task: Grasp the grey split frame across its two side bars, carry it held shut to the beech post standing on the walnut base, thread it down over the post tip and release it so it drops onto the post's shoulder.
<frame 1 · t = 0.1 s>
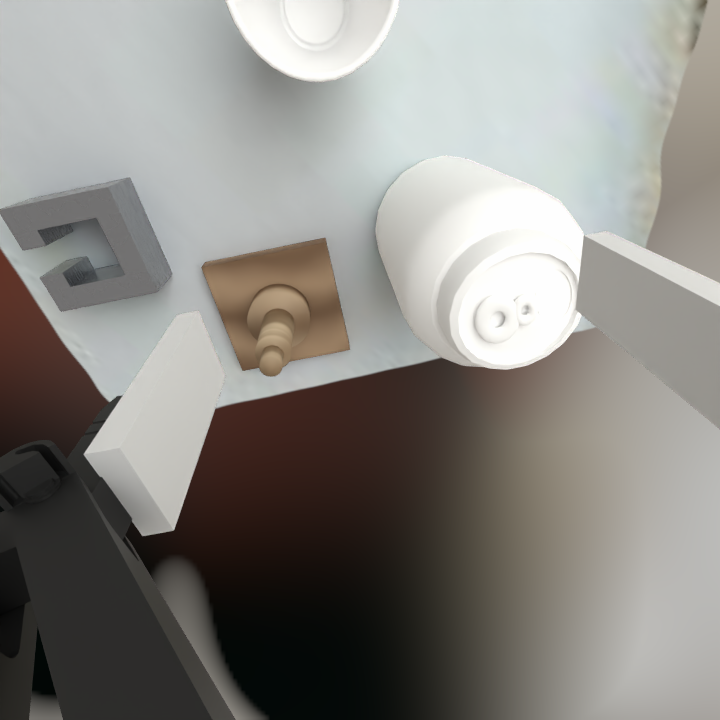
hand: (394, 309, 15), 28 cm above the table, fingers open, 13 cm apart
cup: (314, 8, 32), on the table
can: (437, 224, 41), on the table
grey split frame: (105, 238, 39), on the table
post fixture: (282, 305, 44), on the table
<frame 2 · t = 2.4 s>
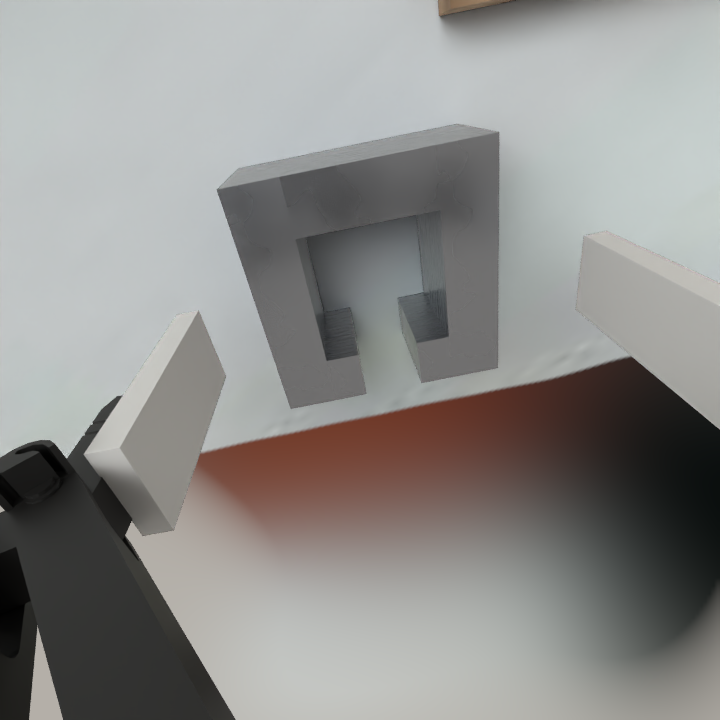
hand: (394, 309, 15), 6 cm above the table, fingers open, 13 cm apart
grey split frame: (365, 253, 19), on the table
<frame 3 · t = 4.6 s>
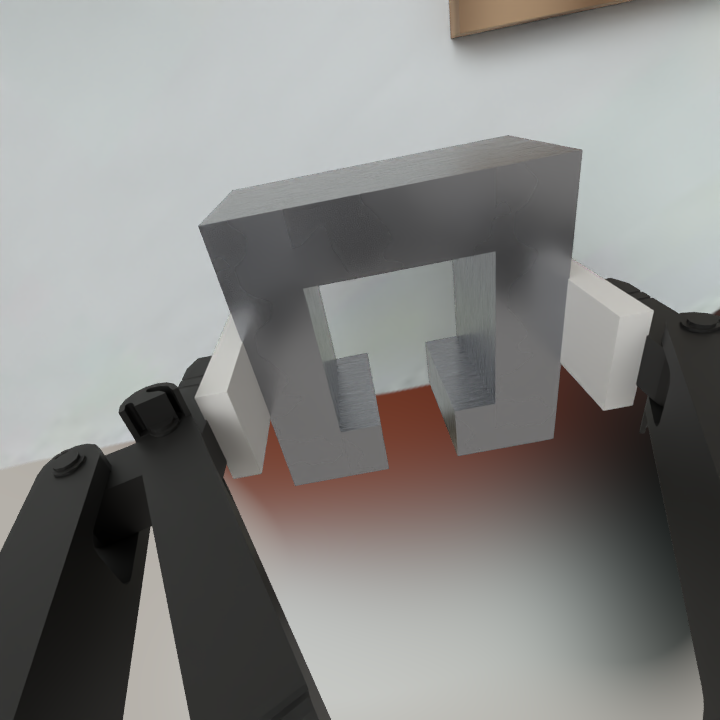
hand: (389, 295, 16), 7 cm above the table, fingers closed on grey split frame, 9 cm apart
grey split frame: (388, 291, 16), point 7 cm above the table, touching gripper
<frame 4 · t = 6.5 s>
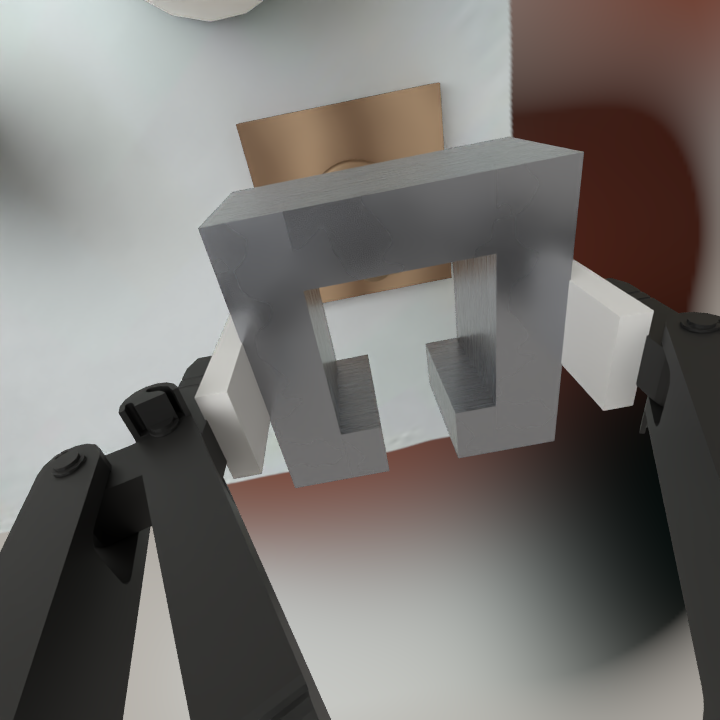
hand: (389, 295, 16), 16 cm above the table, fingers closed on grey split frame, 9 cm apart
grey split frame: (388, 293, 16), point 15 cm above the table, touching gripper
post fixture: (354, 204, 29), on the table
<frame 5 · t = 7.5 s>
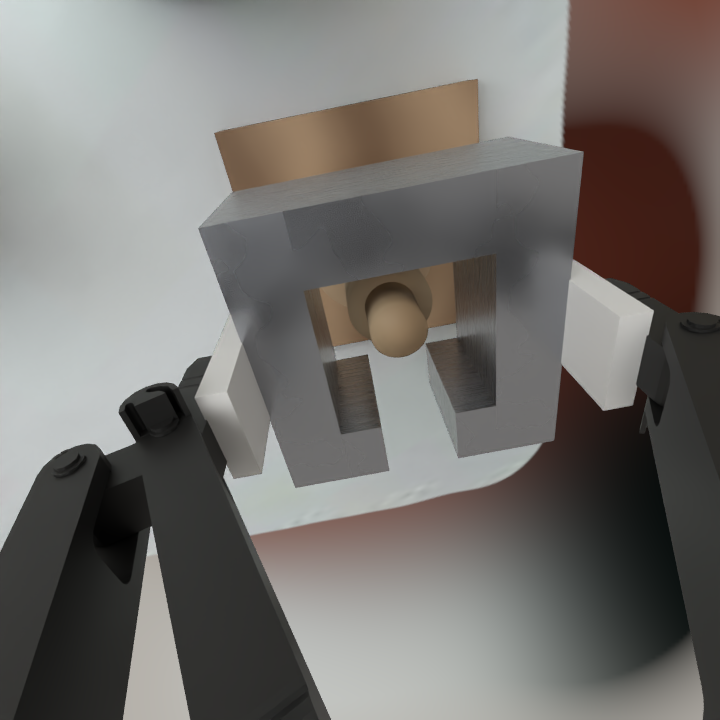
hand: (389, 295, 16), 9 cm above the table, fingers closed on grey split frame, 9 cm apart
grey split frame: (388, 293, 16), point 9 cm above the table, touching gripper
post fixture: (364, 230, 23), on the table
when the fingers open (6 cm above the table, at t = 8.5 s): grey split frame drops 2 cm, resting on post fixture.
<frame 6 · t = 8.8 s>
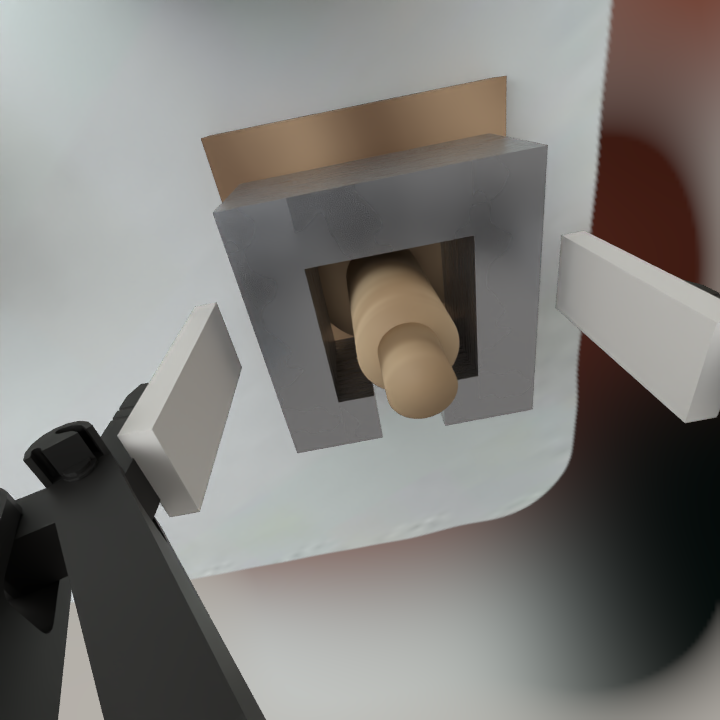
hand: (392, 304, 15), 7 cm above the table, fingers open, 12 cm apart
grey split frame: (382, 277, 17), point 4 cm above the table, touching post fixture
post fixture: (372, 247, 21), on the table
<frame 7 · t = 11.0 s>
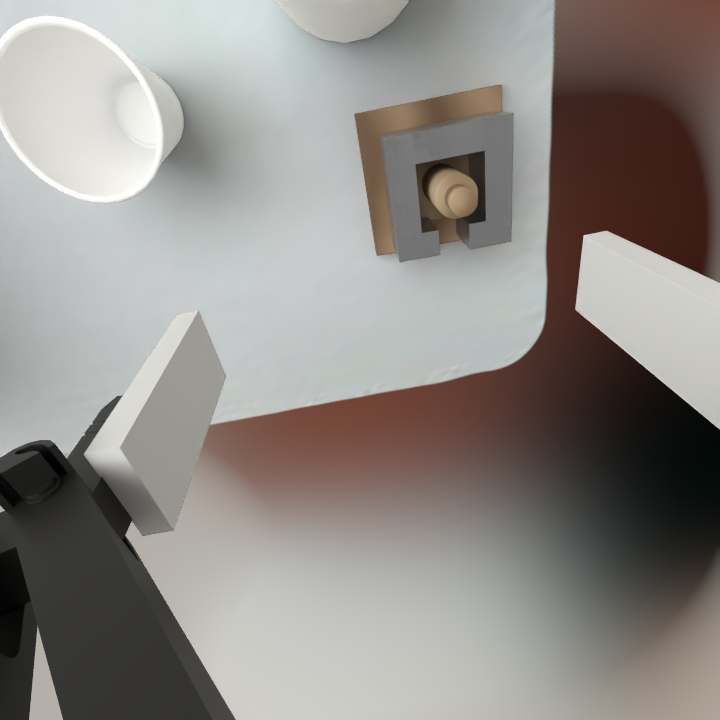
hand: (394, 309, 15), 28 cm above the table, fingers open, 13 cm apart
cup: (147, 113, 35), on the table
grey split frame: (439, 183, 35), point 4 cm above the table, touching post fixture
post fixture: (430, 175, 39), on the table
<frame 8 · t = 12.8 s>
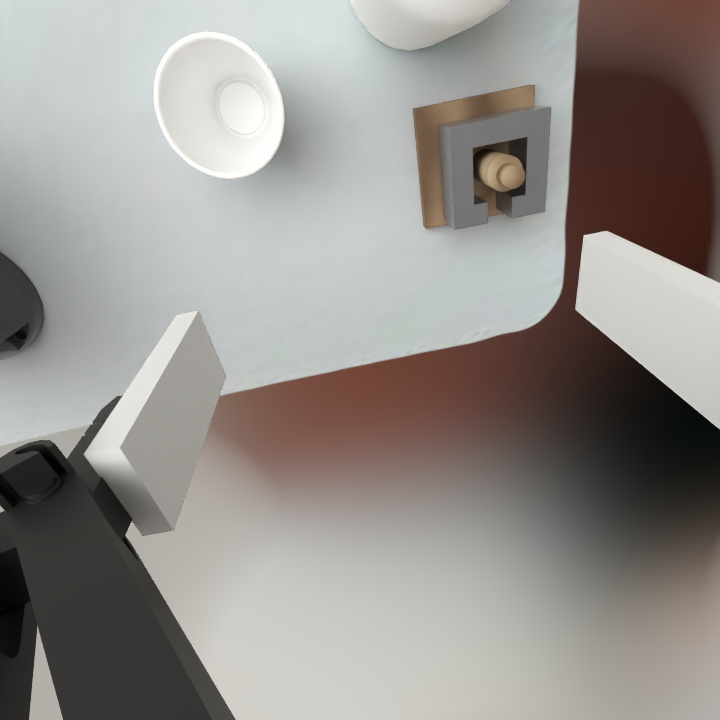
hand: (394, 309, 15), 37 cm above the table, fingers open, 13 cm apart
cup: (242, 108, 42), on the table
grey split frame: (483, 165, 43), point 4 cm above the table, touching post fixture
post fixture: (472, 160, 46), on the table
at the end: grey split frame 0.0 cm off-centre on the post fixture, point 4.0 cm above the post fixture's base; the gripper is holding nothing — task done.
